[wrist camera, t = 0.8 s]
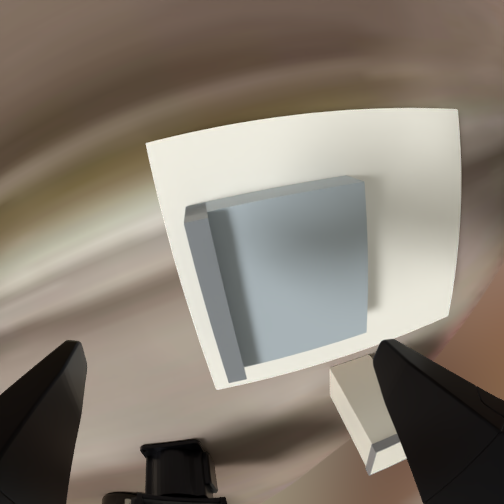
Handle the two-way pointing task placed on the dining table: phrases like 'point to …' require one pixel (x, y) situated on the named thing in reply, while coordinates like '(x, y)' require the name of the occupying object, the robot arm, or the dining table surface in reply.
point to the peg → (365, 413)
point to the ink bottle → (117, 498)
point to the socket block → (322, 167)
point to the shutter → (282, 269)
